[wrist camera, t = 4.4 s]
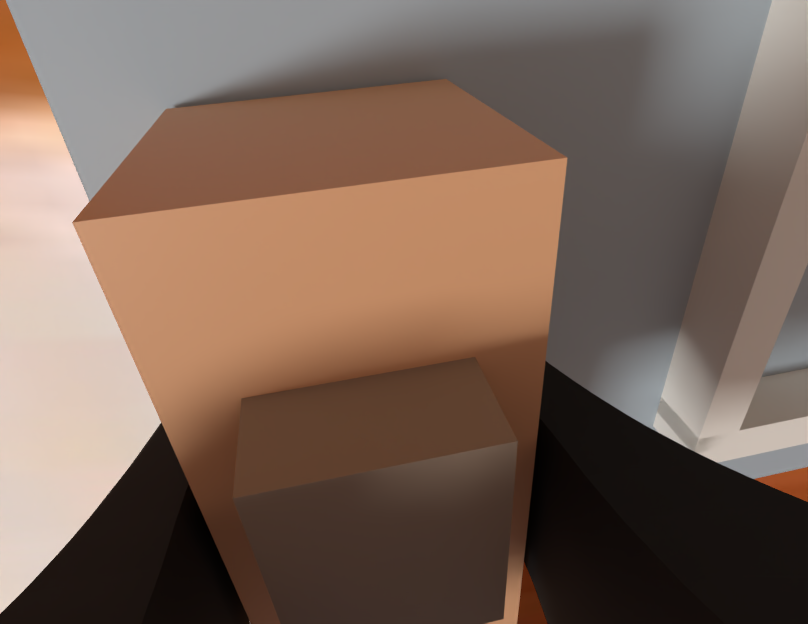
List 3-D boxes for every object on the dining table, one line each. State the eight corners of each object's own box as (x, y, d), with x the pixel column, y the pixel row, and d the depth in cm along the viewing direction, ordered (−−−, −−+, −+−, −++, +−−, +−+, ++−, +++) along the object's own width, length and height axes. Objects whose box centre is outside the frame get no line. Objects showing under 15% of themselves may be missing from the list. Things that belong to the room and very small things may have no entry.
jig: (855, 432, 17) (924, 487, 15) (252, 562, 14) (248, 646, 13) (1420, -536, 7) (1825, -715, 5) (-216, -632, 5) (-551, -1039, 3)
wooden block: (453, 504, 13) (536, 756, 9) (294, 537, 13) (302, 823, 9) (446, 78, 8) (649, 210, 4) (165, 108, 7) (3, 304, 3)
